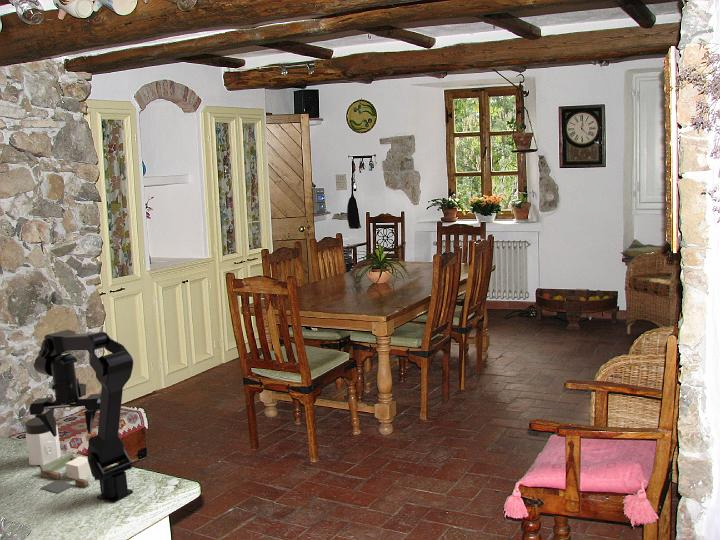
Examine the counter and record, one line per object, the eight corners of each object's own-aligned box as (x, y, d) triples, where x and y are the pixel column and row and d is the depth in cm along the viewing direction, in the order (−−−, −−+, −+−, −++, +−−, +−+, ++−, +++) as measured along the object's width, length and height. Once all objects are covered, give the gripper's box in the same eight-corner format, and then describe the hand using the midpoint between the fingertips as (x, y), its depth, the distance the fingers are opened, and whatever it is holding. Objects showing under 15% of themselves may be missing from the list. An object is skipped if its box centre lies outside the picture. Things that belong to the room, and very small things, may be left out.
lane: (115, 472, 205) (114, 463, 205) (85, 487, 196) (84, 478, 196) (71, 461, 214) (70, 452, 214) (41, 475, 206) (40, 466, 205)
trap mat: (73, 485, 198) (73, 484, 198) (58, 493, 194) (57, 492, 194) (56, 480, 202) (56, 480, 202) (40, 488, 197) (40, 487, 197)
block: (94, 473, 206) (92, 459, 205) (79, 480, 201) (77, 466, 201) (82, 469, 208) (80, 456, 207) (67, 477, 204) (65, 463, 203)
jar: (35, 469, 210) (29, 428, 208) (24, 461, 216) (19, 421, 214) (66, 458, 216) (61, 419, 214) (55, 451, 222) (50, 412, 220)
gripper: (109, 367, 206) (116, 421, 208) (41, 372, 206) (49, 426, 208) (96, 378, 195) (103, 436, 197) (24, 384, 195) (32, 441, 197)
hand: (72, 434), depth 200 cm, fingers open, 9 cm apart
